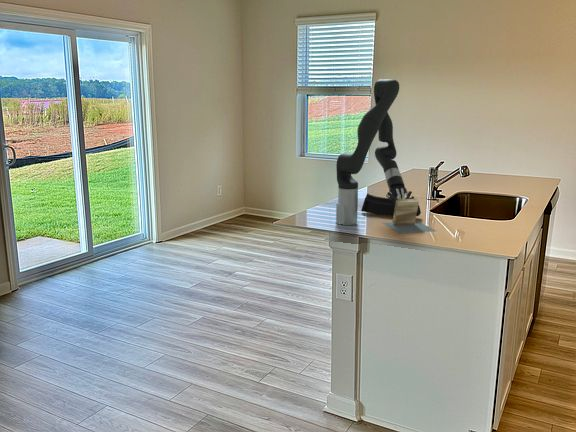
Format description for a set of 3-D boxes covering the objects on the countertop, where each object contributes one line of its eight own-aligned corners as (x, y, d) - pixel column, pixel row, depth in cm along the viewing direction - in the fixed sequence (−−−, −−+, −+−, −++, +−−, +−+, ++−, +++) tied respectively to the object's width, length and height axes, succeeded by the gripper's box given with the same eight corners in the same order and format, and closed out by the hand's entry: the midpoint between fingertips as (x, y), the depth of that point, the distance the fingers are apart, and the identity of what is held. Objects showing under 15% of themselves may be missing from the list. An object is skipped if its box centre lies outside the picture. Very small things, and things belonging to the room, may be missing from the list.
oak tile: (414, 224, 241) (419, 201, 235) (394, 225, 239) (398, 202, 233) (412, 221, 244) (416, 198, 238) (392, 222, 242) (396, 199, 236)
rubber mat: (436, 231, 229) (437, 231, 229) (399, 234, 225) (399, 233, 225) (416, 221, 248) (416, 220, 248) (381, 223, 244) (381, 222, 244)
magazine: (356, 196, 265) (412, 183, 249) (359, 195, 268) (414, 182, 252) (365, 227, 267) (420, 217, 250) (367, 226, 269) (422, 216, 253)
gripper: (383, 175, 244) (393, 205, 235) (409, 174, 247) (419, 204, 238) (379, 184, 251) (388, 214, 242) (404, 183, 253) (414, 213, 244)
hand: (404, 209), depth 240 cm, fingers closed
